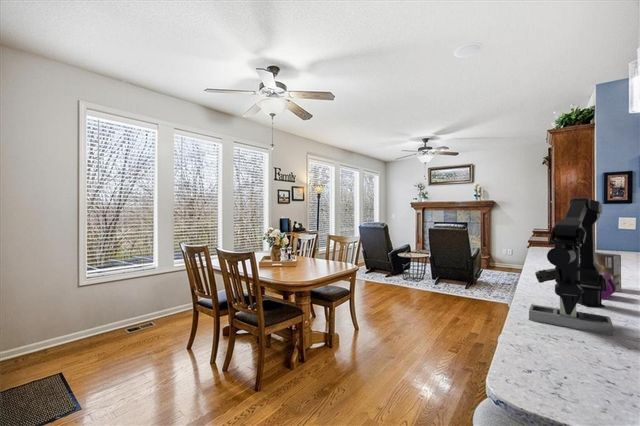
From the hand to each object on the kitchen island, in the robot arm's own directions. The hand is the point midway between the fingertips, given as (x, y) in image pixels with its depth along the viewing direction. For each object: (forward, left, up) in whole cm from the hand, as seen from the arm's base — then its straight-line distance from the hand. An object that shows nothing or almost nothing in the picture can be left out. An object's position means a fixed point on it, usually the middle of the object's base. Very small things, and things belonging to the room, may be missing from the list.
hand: (568, 310), depth 95 cm
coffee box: (-47, -42, -4) cm, 64 cm away
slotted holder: (0, 0, -4) cm, 4 cm away
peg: (0, 0, -4) cm, 4 cm away
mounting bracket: (-32, -34, -4) cm, 47 cm away
